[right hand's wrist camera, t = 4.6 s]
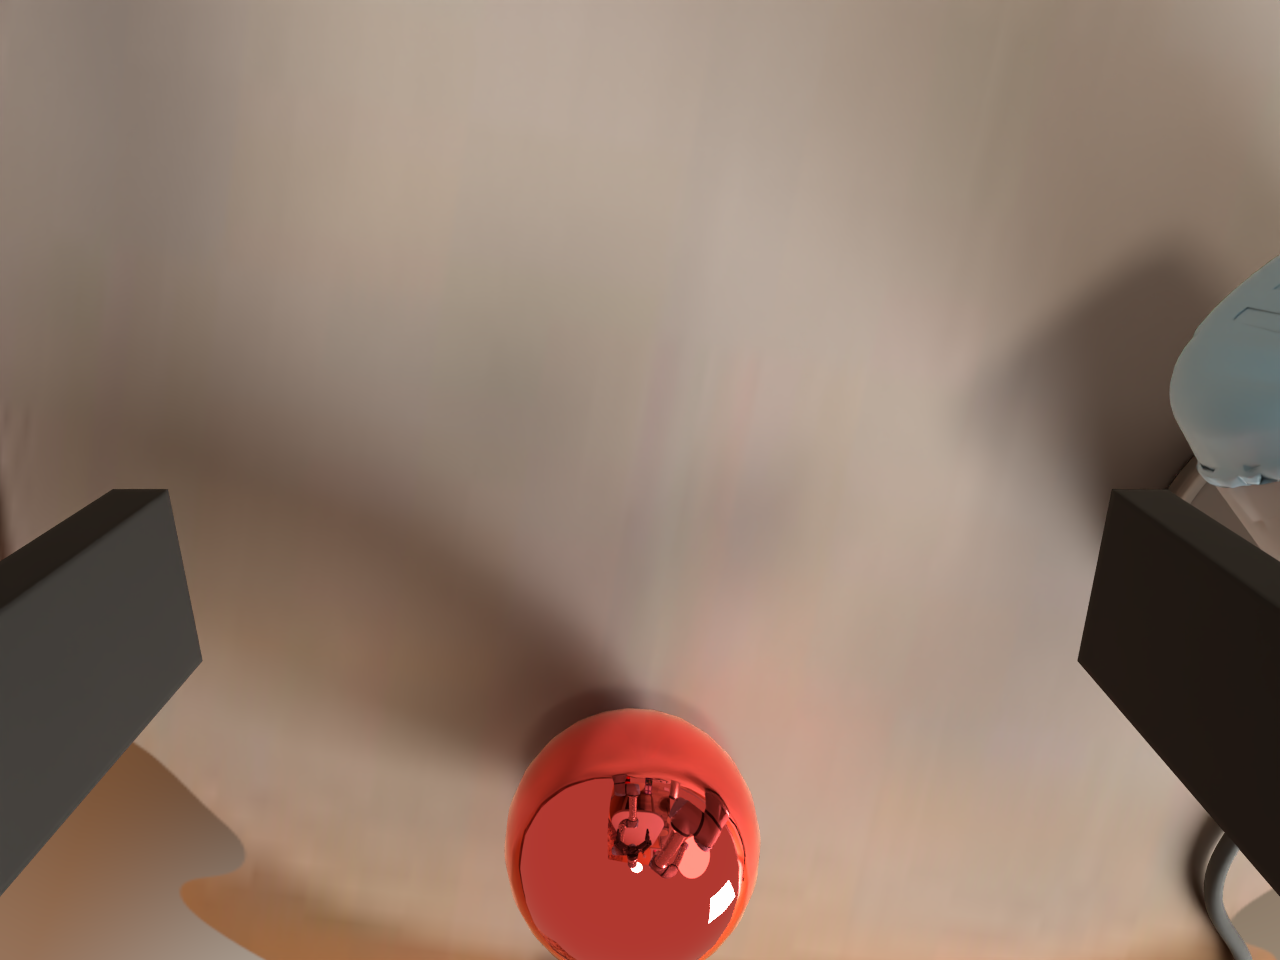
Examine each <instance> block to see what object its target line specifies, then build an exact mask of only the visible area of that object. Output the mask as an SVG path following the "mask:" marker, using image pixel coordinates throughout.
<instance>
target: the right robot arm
mask: <svg viewBox="0 0 1280 960" xmlns="http://www.w3.org/2000/svg"><path fill="white" fill-rule="evenodd" d="M201 662H202V656H201V651H200V646H199V641H198V636H197V631H196V626H195V621H194V616H193V611H192V606H191V601H190V596H189V591H188V586H187V581H186V576H185V571H184V566H183V562H182V557H181V552H180V547H179V542H178V537H177V532H176V527H175V522H174V517H173V512H172V507H171V502H170V497H169V492H168V489H113V490H111V491H109V492H108V493H106V494H105V495H103V496H102V497H100V498H99V499H97V500H95V501H94V502H92V503H91V504H89V505H88V506H86V507H85V508H83V509H81V510H80V511H78V512H77V513H75V514H74V515H72V516H70V517H69V518H67V519H66V520H64V521H63V522H61V523H60V524H58V525H56V526H55V527H53V528H52V529H50V530H49V531H47V532H46V533H44V534H42V535H41V536H39V537H38V538H36V539H35V540H33V541H31V542H30V543H28V544H27V545H25V546H24V547H22V548H21V549H19V550H17V551H16V552H14V553H13V554H11V555H10V556H8V557H7V558H5V559H3V560H2V561H0V896H1V895H2V894H3V893H4V891H5V890H6V889H7V888H8V887H9V886H10V884H11V883H12V882H13V881H14V880H15V879H16V877H17V876H18V875H19V874H20V873H21V872H22V870H23V869H24V868H25V867H26V866H27V865H28V863H29V862H30V861H31V860H32V859H33V858H34V856H35V855H36V854H37V853H38V852H39V851H40V849H41V848H42V847H43V846H44V845H45V844H46V842H47V841H48V840H49V839H50V838H51V837H52V835H53V834H54V833H55V832H56V831H57V830H58V828H59V827H60V826H61V825H62V824H63V823H64V822H65V820H66V819H67V818H68V817H69V816H70V814H71V813H72V812H73V811H74V810H75V809H76V808H77V806H78V805H79V804H80V803H81V802H82V800H83V799H84V798H85V797H86V796H87V795H88V794H89V792H90V791H91V790H92V789H93V788H94V787H95V785H96V784H97V783H98V782H99V781H100V780H101V778H102V777H103V776H104V775H105V774H106V772H107V771H108V770H109V769H110V768H111V767H112V766H113V764H114V763H115V762H116V761H117V760H118V759H119V757H120V756H121V755H122V754H123V753H124V752H125V750H126V749H127V748H128V747H129V746H130V745H131V743H132V742H133V741H134V740H135V739H136V738H137V737H138V735H139V734H140V733H141V732H142V731H143V730H144V728H145V727H146V726H147V725H148V724H149V723H150V721H151V720H152V719H153V718H154V717H155V716H156V714H157V713H158V712H159V711H160V710H161V709H162V707H163V706H164V705H165V704H166V703H167V702H168V700H169V699H170V698H171V697H172V696H173V695H174V693H175V692H176V691H177V690H178V689H179V688H180V686H181V685H182V684H183V683H184V682H185V681H186V679H187V678H188V677H189V676H190V675H191V674H192V672H193V671H194V670H195V669H196V668H197V667H198V665H199V664H200V663H201ZM1078 662H1079V663H1080V664H1081V665H1082V667H1083V668H1084V669H1085V670H1086V671H1087V672H1088V674H1089V675H1090V676H1091V677H1092V678H1093V679H1094V681H1095V682H1096V683H1097V684H1098V685H1099V686H1100V688H1101V689H1102V690H1103V691H1104V692H1105V693H1106V695H1107V696H1108V697H1109V698H1110V699H1111V700H1112V702H1113V703H1114V704H1115V705H1116V706H1117V707H1118V709H1119V710H1120V711H1121V712H1122V713H1123V714H1124V716H1125V717H1126V718H1127V719H1128V720H1129V721H1130V723H1131V724H1132V725H1133V726H1134V727H1135V728H1136V730H1137V731H1138V732H1139V733H1140V734H1141V735H1142V737H1143V738H1144V739H1145V740H1146V741H1147V742H1148V743H1149V745H1150V746H1151V747H1152V748H1153V749H1154V750H1155V752H1156V753H1157V754H1158V755H1159V756H1160V757H1161V759H1162V760H1163V761H1164V762H1165V763H1166V764H1167V766H1168V767H1169V768H1170V769H1171V770H1172V771H1173V773H1174V774H1175V775H1176V776H1177V777H1178V778H1179V780H1180V781H1181V782H1182V783H1183V784H1184V785H1185V787H1186V788H1187V789H1188V790H1189V791H1190V792H1191V794H1192V795H1193V796H1194V797H1195V798H1196V799H1197V801H1198V802H1199V803H1200V804H1201V805H1202V806H1203V808H1204V809H1205V810H1206V811H1207V812H1208V813H1209V815H1210V816H1211V817H1212V818H1213V819H1214V820H1215V822H1216V823H1217V824H1218V825H1219V826H1220V827H1221V828H1222V830H1223V831H1224V832H1225V833H1226V834H1227V835H1228V837H1229V838H1230V839H1231V840H1232V841H1233V842H1234V844H1235V845H1236V846H1237V847H1238V848H1239V849H1240V851H1241V852H1242V853H1243V854H1244V855H1245V856H1246V858H1247V859H1248V860H1249V861H1250V862H1251V863H1252V865H1253V866H1254V867H1255V868H1256V869H1257V870H1258V872H1259V873H1260V874H1261V875H1262V876H1263V877H1264V879H1265V880H1266V881H1267V882H1268V883H1269V884H1270V886H1271V887H1272V888H1273V889H1274V890H1275V891H1276V893H1277V894H1278V895H1279V896H1280V561H1278V560H1277V559H1275V558H1273V557H1272V556H1270V555H1269V554H1267V553H1266V552H1264V551H1263V550H1261V549H1259V548H1258V547H1256V546H1255V545H1253V544H1252V543H1250V542H1249V541H1247V540H1245V539H1244V538H1242V537H1241V536H1239V535H1238V534H1236V533H1234V532H1233V531H1231V530H1230V529H1228V528H1227V527H1225V526H1224V525H1222V524H1220V523H1219V522H1217V521H1216V520H1214V519H1213V518H1211V517H1210V516H1208V515H1206V514H1205V513H1203V512H1202V511H1200V510H1199V509H1197V508H1195V507H1194V506H1192V505H1191V504H1189V503H1188V502H1186V501H1185V500H1183V499H1181V498H1180V497H1178V496H1177V495H1175V494H1174V493H1172V492H1171V491H1169V490H1167V489H1112V492H1111V497H1110V502H1109V507H1108V512H1107V517H1106V522H1105V527H1104V532H1103V537H1102V542H1101V547H1100V552H1099V557H1098V562H1097V566H1096V571H1095V576H1094V581H1093V586H1092V591H1091V596H1090V601H1089V606H1088V611H1087V616H1086V621H1085V626H1084V631H1083V636H1082V641H1081V646H1080V651H1079V656H1078Z"/></svg>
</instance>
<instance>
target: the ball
mask: <svg viewBox="0 0 1280 960" xmlns="http://www.w3.org/2000/svg"><path fill="white" fill-rule="evenodd" d="M504 852H505V862H506V867H507V872H508V877H509V883H510V888H511V892H512V895H513V898H514V901H515V903H516V905H517V907H518V909H519V911H520V912H521V914H522V916H523V918H524V920H525V922H526V924H527V925H528V927H529V929H530V930H531V932H532V933H533V935H534V936H535V937H536V938H537V939H538V940H539V941H540V942H541V943H542V944H543V945H544V947H545V948H546V949H547V950H548V951H549V952H550V953H551V954H552V955H553V956H554V957H556V958H557V959H558V960H705V959H706V958H708V957H709V956H711V955H712V954H713V953H714V952H716V951H717V950H718V949H719V947H720V946H721V945H722V944H723V943H724V942H725V940H726V939H727V938H728V937H729V935H730V934H731V933H732V932H733V931H734V929H735V928H736V927H737V925H738V924H739V922H740V921H741V919H742V916H743V914H744V912H745V910H746V907H747V905H748V903H749V900H750V898H751V896H752V893H753V891H754V888H755V885H756V881H757V875H758V865H759V854H760V829H759V825H758V820H757V816H756V811H755V807H754V802H753V798H752V795H751V792H750V790H749V788H748V786H747V784H746V782H745V780H744V778H743V777H742V775H741V773H740V772H739V770H738V768H737V766H736V765H735V763H734V761H733V760H732V758H731V757H730V756H729V754H728V753H727V752H726V751H725V750H724V749H723V748H722V747H721V746H720V745H718V744H717V743H716V742H715V741H714V740H713V739H712V738H711V737H710V736H709V735H708V734H707V733H706V732H704V731H703V730H701V729H699V728H697V727H696V726H694V725H692V724H690V723H689V722H687V721H685V720H683V719H682V718H680V717H677V716H674V715H670V714H667V713H664V712H660V711H657V710H649V709H636V708H625V709H618V710H611V711H604V712H601V713H598V714H596V715H593V716H590V717H587V718H585V719H582V720H580V721H578V722H576V723H574V724H573V725H571V726H570V727H568V728H567V729H565V730H564V731H562V732H561V733H559V734H558V735H556V736H555V737H554V738H553V739H551V740H550V741H549V743H548V744H547V745H546V746H545V747H544V748H543V749H542V751H541V752H540V753H539V754H538V755H537V756H536V757H535V758H534V760H533V761H532V762H531V763H530V764H529V766H528V767H527V769H526V771H525V773H524V775H523V777H522V779H521V781H520V784H519V786H518V788H517V790H516V792H515V794H514V797H513V799H512V802H511V804H510V808H509V813H508V821H507V829H506V837H505V847H504Z"/></svg>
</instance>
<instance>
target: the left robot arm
mask: <svg viewBox="0 0 1280 960" xmlns="http://www.w3.org/2000/svg"><path fill="white" fill-rule="evenodd" d="M1170 404H1171V408H1172V412H1173V415H1174V417H1175V419H1176V421H1177V423H1178V425H1179V427H1180V429H1181V431H1182V432H1183V434H1184V436H1185V438H1186V440H1187V442H1188V443H1189V445H1190V447H1191V449H1192V451H1193V453H1194V455H1195V456H1194V457H1193V458H1192V459H1191V460H1190V461H1189V462H1188V463H1187V464H1186V466H1185V467H1184V468H1183V469H1182V470H1181V471H1180V472H1179V474H1178V475H1177V477H1176V478H1175V479H1174V481H1173V482H1172V483H1171V485H1170V486H1169V488H1168V490H1169V491H1171V492H1172V493H1174V494H1175V495H1177V496H1178V497H1180V498H1181V499H1183V500H1185V501H1186V502H1188V503H1189V504H1191V505H1192V506H1194V507H1195V508H1197V509H1199V510H1200V511H1202V512H1203V513H1205V514H1206V515H1208V516H1210V517H1211V518H1213V519H1214V520H1216V521H1217V522H1219V523H1220V524H1222V525H1224V526H1225V527H1227V528H1228V529H1230V530H1231V531H1233V532H1234V533H1236V534H1238V535H1239V536H1241V537H1242V538H1244V539H1245V540H1247V541H1249V542H1250V543H1252V544H1253V545H1255V546H1256V547H1258V548H1259V549H1261V550H1263V551H1264V552H1266V553H1267V554H1269V555H1270V556H1272V557H1273V558H1275V559H1277V560H1278V561H1280V254H1279V255H1278V256H1277V257H1275V258H1274V259H1272V260H1271V261H1270V262H1268V263H1267V264H1266V265H1264V266H1263V267H1262V268H1260V269H1259V270H1258V271H1256V272H1255V273H1254V274H1252V275H1251V276H1250V277H1249V278H1248V279H1246V280H1245V281H1244V282H1243V283H1242V284H1240V285H1239V286H1238V287H1237V288H1236V289H1234V290H1233V291H1232V292H1231V293H1230V294H1229V295H1228V296H1227V297H1226V298H1225V299H1223V300H1222V301H1221V302H1220V303H1219V304H1218V305H1217V306H1216V307H1215V308H1214V309H1213V310H1212V311H1211V313H1210V314H1209V315H1208V316H1207V317H1206V318H1205V319H1204V320H1203V322H1202V323H1201V324H1200V325H1199V326H1198V328H1197V329H1196V330H1195V333H1194V335H1193V338H1192V339H1191V340H1190V341H1189V343H1188V344H1187V345H1186V346H1185V347H1184V349H1183V351H1182V353H1181V354H1180V356H1179V357H1178V360H1177V362H1176V364H1175V366H1174V370H1173V374H1172V378H1171V382H1170ZM1238 851H1239V848H1238V847H1237V846H1236V845H1235V844H1234V842H1233V841H1232V840H1231V839H1230V838H1229V837H1228V835H1227V834H1226V833H1224V835H1223V836H1222V838H1221V839H1220V841H1219V843H1218V844H1217V846H1216V848H1215V850H1214V852H1213V854H1212V856H1211V858H1210V861H1209V863H1208V867H1207V870H1206V874H1205V880H1204V901H1205V907H1206V910H1207V913H1208V916H1209V918H1210V920H1211V922H1212V924H1213V925H1214V927H1215V929H1216V930H1217V932H1218V933H1219V935H1220V936H1221V937H1222V939H1223V940H1224V942H1225V943H1226V945H1227V946H1228V948H1229V950H1230V952H1231V953H1232V956H1233V958H1234V960H1252V957H1251V954H1250V952H1249V949H1248V948H1247V946H1246V944H1245V942H1244V941H1243V939H1242V938H1241V936H1240V935H1239V933H1238V932H1237V930H1236V929H1235V927H1234V926H1233V924H1232V923H1231V921H1230V919H1229V917H1228V915H1227V913H1226V911H1225V908H1224V905H1223V887H1224V882H1225V878H1226V875H1227V872H1228V870H1229V867H1230V865H1231V863H1232V861H1233V859H1234V857H1235V856H1236V854H1237V852H1238Z"/></svg>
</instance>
